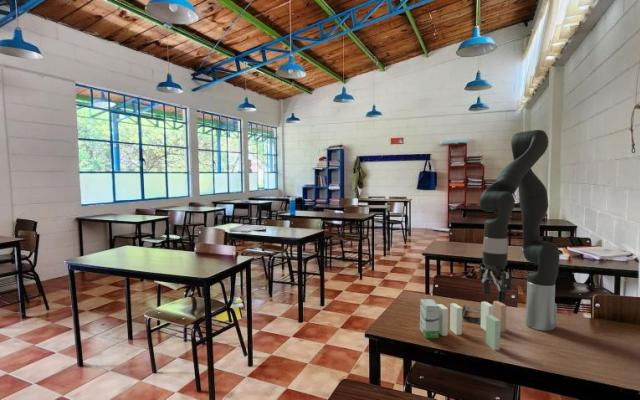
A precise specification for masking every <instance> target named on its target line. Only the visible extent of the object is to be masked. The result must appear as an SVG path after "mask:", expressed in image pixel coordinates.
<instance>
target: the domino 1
mask: <svg viewBox="0 0 640 400" xmlns="http://www.w3.org/2000/svg"><path fill="white" fill-rule="evenodd" d="M436 304H437V305H438V306H439V335H441V336H448V334H449V333H448V331H449V330H448V328H449V308H448V307H446V306H445V305H444V304H442V303H436Z"/></svg>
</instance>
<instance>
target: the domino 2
mask: <svg viewBox="0 0 640 400" xmlns="http://www.w3.org/2000/svg"><path fill="white" fill-rule="evenodd" d="M449 307H450V309H449V314H450V315H449V330H450V331H451V332H453V333H454V335H456V336H461V335H462V333H463V332H462V329H463V327H462V326H463V318H462V309H463V306H460V305H459V304H457V303H456V302H455V303H452V302H451V303H450V306H449Z"/></svg>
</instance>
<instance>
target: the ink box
mask: <svg viewBox="0 0 640 400" xmlns="http://www.w3.org/2000/svg"><path fill="white" fill-rule="evenodd" d="M419 301H420V306H419V315H420V316H419V330H420V332H421V333H422V335H423V336H424V338H426V339H439V337H440V336H439V335H440V333H439V306H438V305H437V304H438V303H436V302H435V300H434V299H428V298H426V299H425V298H421V299H420V300H419Z"/></svg>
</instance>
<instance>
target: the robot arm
mask: <svg viewBox="0 0 640 400" xmlns="http://www.w3.org/2000/svg"><path fill="white" fill-rule="evenodd" d="M510 142H511V143H510V145H511V153H512V158H513V161H512V162H510V163H509V164H507V165H506V166H505V167H504V168H503V169H502V170H501V172H500V174H499V176H498V177H497V178H496V180H495V181H494V182H493V183H492V184H490V185H489V186H488V187H487V188H486V189H484V191H483V192H482V193H481V194H480V196H479V200H478V202H479V203H478V204H479V207H480V209H481V210H482V211H484V212H486V213H487V212H489V213H498V215H497V217H496V218H489V219H486V220H485V222H484V229H483V241H482V263H479V268H478V269H479V272H478V279H479V281H481V284H482V294H484V295H489V294H490V293H491V281H492V282H494V285H495V286H496V288H497V290H498V291H497V301H498V302H501V303H505V302H506V299H507V298H506V296H507V294H506V293H507V292H508V291H509V292H511V290H512V274H511V272H510V271H507V272H506V271H505V267H507V265H508V250H509V249H508V248H509V243H508V227H509V224H510V219H511V216H512V212H513V210H514V209H515V208H514V207H515V203H516V202H515V197H514V195H513V194H515V192H516V191H517V189H518V197H519V206H520V211H521V212H520V213H521V223H522V252H523V256H524V258H525V260H526V261H527V262H529V263H531V264H535V265H538V268H537V271H534V272H533V271H532V272H530V273H528V274H527V277H526V278H527V279H526V280H527V282H526V308H525V309H526V311H525V312H526V313H525V325H526V326H528V328H531V329H534V330H536V331H537V330H539V331H543V332H544V331H547V332H548V331H549V332H550V331H553V330H555V329H557V314H558V313H557V312H558V311H557V309H558V304H557V303H556V301H555V300H556V299H555V298H556V280H557V278H558V275H559V266H560V265H559V264H560V250H559V247H558V245H557V244H556V243H553V242H550V241H546V240H541V236H540V235H541V234H540V228H541V227H540V226H541V224H542V221H543V220H544V218H545V216H546V214H547V212H548V210H549V209H548V208H549V199H548V198H549V197H548V191H547V188H546V186H545V185H544V183H543V182H542V181H541V179H540V178H539V177H538V176H537V174H536V173H535V172H534V171H533V170H532V168H533V167H534V165H536V163H537V162H538V161H539V160H540V158H541V157H542V156H543V155H544V154H545V153H546V151H547V149H548V146H549V137H548V134H547V132H546V131H544V130H542V129H533V130H527V131H519V132H517V133H514V134H513V136H512V137H511V140H510Z"/></svg>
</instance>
